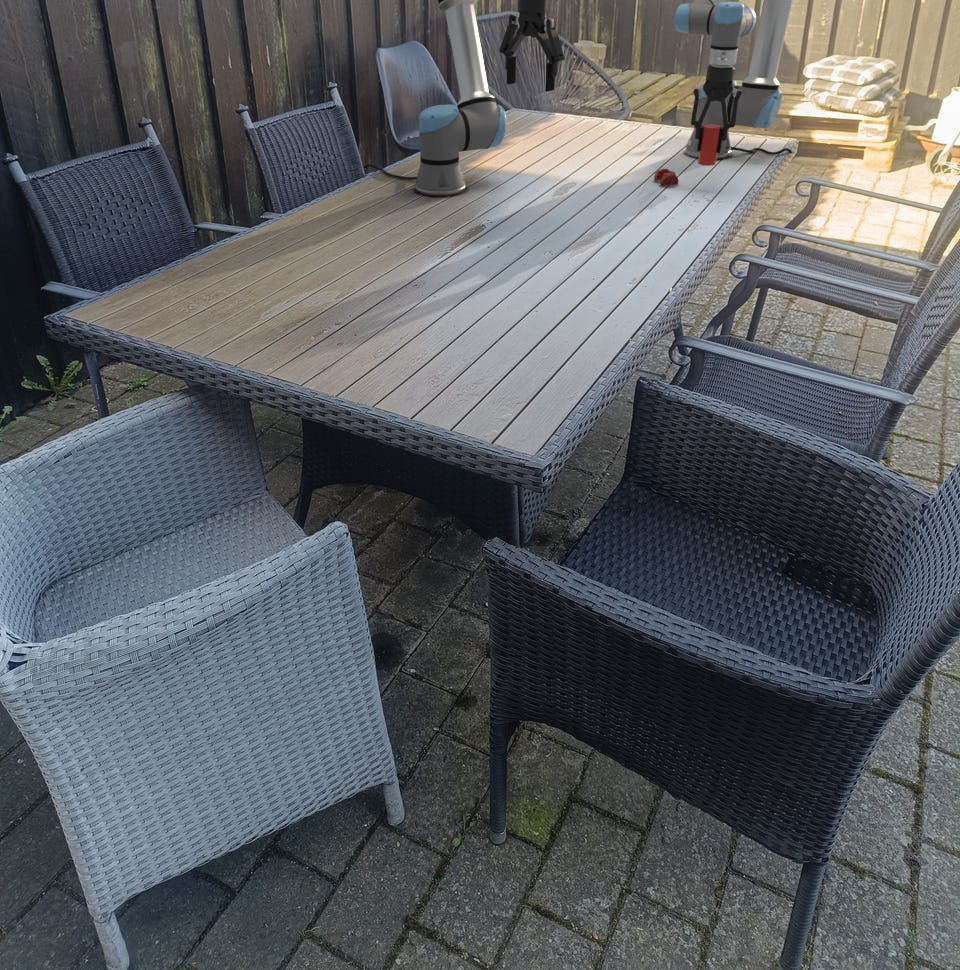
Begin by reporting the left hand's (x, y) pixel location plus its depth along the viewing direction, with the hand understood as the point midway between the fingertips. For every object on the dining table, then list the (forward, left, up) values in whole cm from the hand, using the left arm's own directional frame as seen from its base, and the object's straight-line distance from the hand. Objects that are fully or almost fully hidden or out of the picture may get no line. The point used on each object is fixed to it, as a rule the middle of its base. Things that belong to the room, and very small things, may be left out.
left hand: (530, 87), depth 222 cm
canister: (+30, +50, -25) cm, 64 cm away
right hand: (+30, +50, -21) cm, 62 cm away
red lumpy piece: (+18, +50, -33) cm, 62 cm away
